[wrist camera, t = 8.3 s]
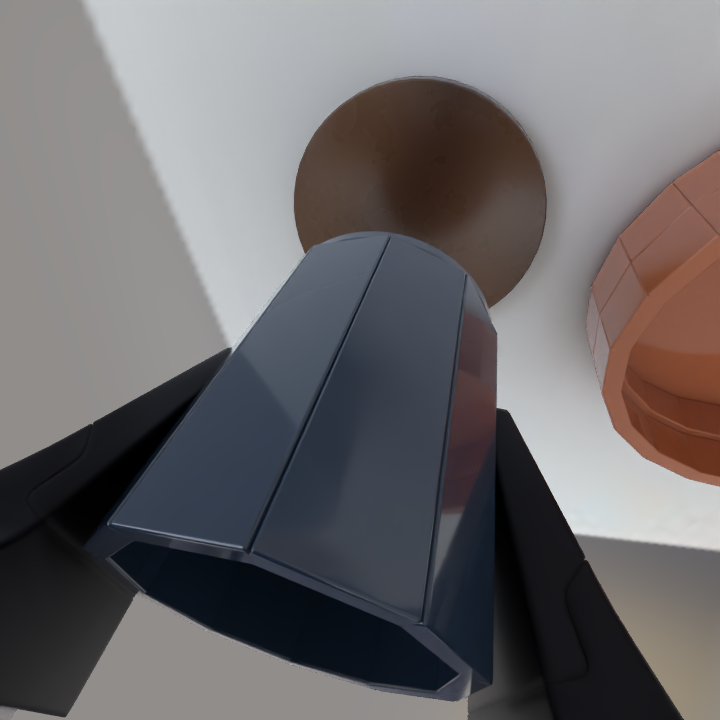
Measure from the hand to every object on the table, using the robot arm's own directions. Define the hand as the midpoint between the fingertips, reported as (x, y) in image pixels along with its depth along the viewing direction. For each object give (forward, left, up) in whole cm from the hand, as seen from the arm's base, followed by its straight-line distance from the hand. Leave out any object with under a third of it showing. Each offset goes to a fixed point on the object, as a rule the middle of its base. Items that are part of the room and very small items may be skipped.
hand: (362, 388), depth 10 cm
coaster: (0, 0, -10) cm, 10 cm away
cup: (0, 0, -2) cm, 2 cm away
